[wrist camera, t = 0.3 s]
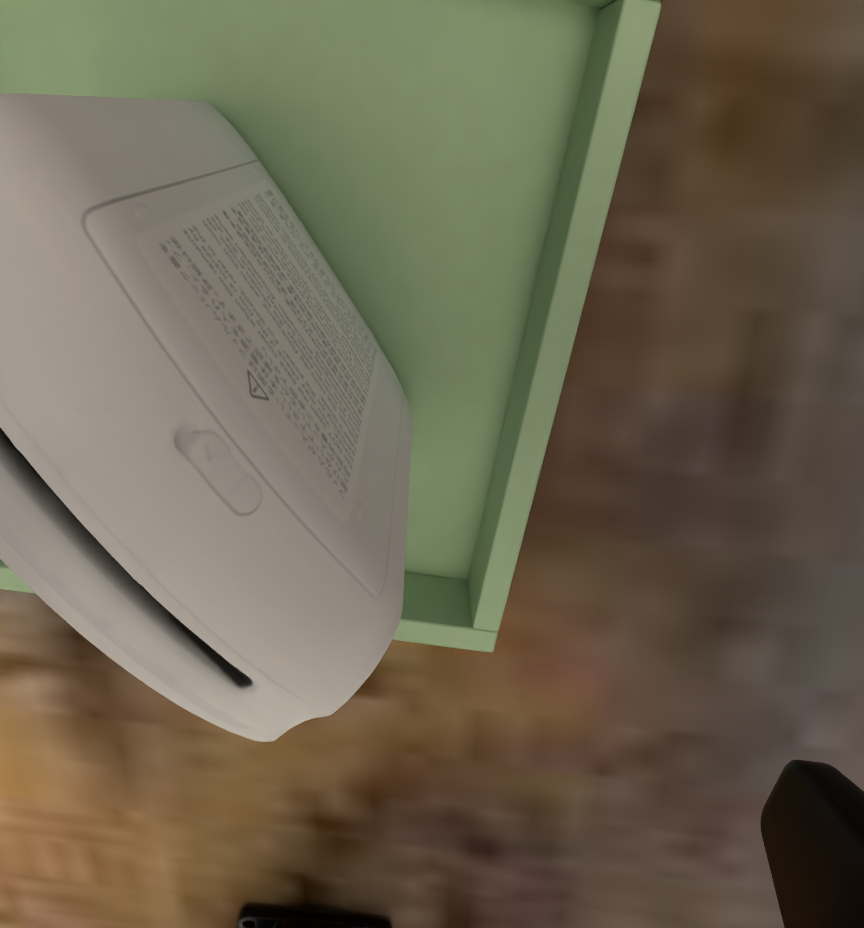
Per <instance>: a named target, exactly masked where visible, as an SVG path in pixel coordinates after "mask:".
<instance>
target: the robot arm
mask: <svg viewBox="0 0 864 928" xmlns="http://www.w3.org/2000/svg"><path fill="white" fill-rule="evenodd" d="M761 832H762V837H763V842H764V846H765V850H766V854H767V858H768V862H769V866H770V870H771V874H772V878H773V882H774V886H775V890H776V895H777V899H778V903H779V907H780V911H781V915H782V919H783V923H784V927H785V928H864V791H862V790H861V789H860V788H859V787H858V786H856V785H855V784H854V783H853V782H851V781H850V780H849V779H848V778H847V777H845V776H844V775H843V774H842V773H841V772H839V771H838V770H837V769H836V768H834V767H833V766H831V765H829V764H825V763H820V762H812V761H804V760H792V761H791V762H789V763H788V764H787V765H786V766H785V767H784V769H783V771H782V773H781V775H780V777H779V779H778V780H777V782H776V784H775V786H774V788H773V790H772V792H771V794H770V796H769V798H768V800H767V802H766V804H765V806H764V808H763V810H762V815H761ZM237 928H392V925H391V924H390V923H389V922H387V921H383V920H374V919H363V918H353V917H343V916H333V915H323V914H312V913H302V912H292V911H282V910H272V909H262V908H245V909H243V910H241V911H240V914H239V918H238V922H237Z"/></svg>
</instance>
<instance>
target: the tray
mask: <svg viewBox="0 0 864 928" xmlns="http://www.w3.org/2000/svg"><path fill="white" fill-rule="evenodd" d="M660 1H662V0H0V94H4V93H31V94H51V95H70V96H96V97H114V98H139V99H166V100H202V101H207V102H209V103H210V104H212V105H213V106H214V107H215V108H216V109H217V110H218V111H219V112H220V113H221V114H222V115H223V116H224V117H225V118H226V120H227V121H228V122H229V123H230V124H231V125H232V126H233V127H234V128H235V129H236V131H237V132H238V133H239V134H240V135H241V137H242V138H243V139H244V140H245V142H246V143H247V144H248V145H249V147H250V148H251V149H252V151H253V152H254V154H255V155H256V156H257V158H258V159H259V161H260V162H261V163H262V165H263V166H264V168H265V169H266V171H267V172H268V173H269V175H270V176H271V178H272V179H273V181H274V182H275V183H276V185H277V186H278V188H279V189H280V191H281V192H282V194H283V195H284V197H285V198H286V200H287V202H288V203H289V205H290V206H291V208H292V209H293V211H294V212H295V214H296V215H297V217H298V218H299V220H300V221H301V222H302V224H303V225H304V227H305V229H306V230H307V232H308V233H309V235H310V237H311V238H312V240H313V241H314V243H315V244H316V246H317V247H318V249H319V250H320V252H321V253H322V255H323V256H324V258H325V259H326V261H327V263H328V264H329V266H330V267H331V269H332V270H333V272H334V274H335V275H336V277H337V278H338V280H339V282H340V283H341V285H342V286H343V288H344V290H345V291H346V293H347V294H348V296H349V298H350V299H351V301H352V302H353V304H354V305H355V307H356V309H357V310H358V312H359V313H360V315H361V317H362V318H363V320H364V321H365V323H366V325H367V326H368V327H369V329H370V330H371V331H372V333H373V336H374V338H375V339H376V341H377V342H378V344H379V346H380V348H381V349H382V351H383V352H384V354H385V356H386V358H387V359H388V361H389V363H390V365H391V366H392V368H393V370H394V372H395V374H396V376H397V378H398V380H399V382H400V384H401V386H402V388H403V391H404V393H405V396H406V398H407V401H408V404H409V407H410V410H411V413H412V418H413V434H412V448H411V459H410V462H411V464H410V481H409V497H408V515H407V534H406V549H405V553H406V556H405V571H404V592H403V607H402V613H401V619H400V622H399V625H398V628H397V630H396V632H395V635H394V637H393V639H392V640H398V641H406V642H414V643H421V644H429V645H437V646H445V647H452V648H460V649H468V650H475V651H483V652H493V650H494V647H495V643H496V639H497V635H498V630H499V628H500V624H501V620H502V616H503V613H504V609H505V605H506V601H507V597H508V593H509V590H510V586H511V582H512V578H513V574H514V570H515V567H516V563H517V559H518V555H519V551H520V547H521V544H522V540H523V536H524V532H525V528H526V524H527V520H528V517H529V513H530V509H531V505H532V501H533V497H534V494H535V490H536V486H537V482H538V478H539V474H540V471H541V467H542V463H543V459H544V455H545V451H546V448H547V444H548V440H549V436H550V432H551V428H552V425H553V421H554V417H555V413H556V409H557V405H558V402H559V398H560V394H561V390H562V386H563V382H564V378H565V375H566V371H567V367H568V363H569V359H570V355H571V352H572V348H573V344H574V340H575V336H576V332H577V329H578V325H579V321H580V317H581V313H582V309H583V306H584V302H585V298H586V294H587V290H588V286H589V283H590V279H591V275H592V271H593V267H594V263H595V260H596V256H597V252H598V248H599V244H600V240H601V236H602V233H603V229H604V225H605V221H606V217H607V213H608V210H609V206H610V202H611V198H612V194H613V190H614V187H615V183H616V179H617V175H618V171H619V167H620V164H621V160H622V156H623V152H624V148H625V144H626V141H627V137H628V133H629V129H630V125H631V121H632V118H633V114H634V110H635V106H636V102H637V98H638V94H639V91H640V87H641V83H642V79H643V75H644V71H645V68H646V64H647V60H648V56H649V52H650V48H651V45H652V41H653V37H654V33H655V29H656V25H657V22H658V18H659V14H660V10H661V3H660ZM0 589H5V590H12V591H20V592H28V593H35V592H34V591H33V590H32V589H31V588H30V587H29V586H28V585H27V584H25V583H24V582H23V581H22V580H21V579H20V578H19V577H18V576H17V575H16V574H15V573H14V572H13V571H12V570H11V569H10V568H9V567H8V566H7V565H6V564H5V563H4V562H3V561H2V560H1V559H0Z"/></svg>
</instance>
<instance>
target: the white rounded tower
mask: <svg viewBox="0 0 864 928" xmlns="http://www.w3.org/2000/svg"><path fill="white" fill-rule="evenodd" d="M412 434H413V418H412V413H411V410H410V407H409V404H408V401H407V398H406V396H405V393H404V391H403V388H402V386H401V384H400V382H399V380H398V378H397V376H396V374H395V372H394V370H393V368H392V366H391V365H390V363H389V361H388V359H387V358H386V356H385V354H384V352H383V351H382V349H381V348H380V346H379V344H378V342H377V341H376V339H375V338H374V336H373V333H372V331H371V330H370V329H369V327H368V326H367V325H366V323H365V321H364V320H363V318H362V317H361V315H360V313H359V312H358V310H357V309H356V307H355V305H354V304H353V302H352V301H351V299H350V298H349V296H348V294H347V293H346V291H345V290H344V288H343V286H342V285H341V283H340V282H339V280H338V278H337V277H336V275H335V274H334V272H333V270H332V269H331V267H330V266H329V264H328V263H327V261H326V259H325V258H324V256H323V255H322V253H321V252H320V250H319V249H318V247H317V246H316V244H315V243H314V241H313V240H312V238H311V237H310V235H309V233H308V232H307V230H306V229H305V227H304V225H303V224H302V222H301V221H300V220H299V218H298V217H297V215H296V214H295V212H294V211H293V209H292V208H291V206H290V205H289V203H288V202H287V200H286V198H285V197H284V195H283V194H282V192H281V191H280V189H279V188H278V186H277V185H276V183H275V182H274V181H273V179H272V178H271V176H270V175H269V173H268V172H267V171H266V169H265V168H264V166H263V165H262V163H261V162H260V161H259V159H258V158H257V156H256V155H255V154H254V152H253V151H252V149H251V148H250V147H249V145H248V144H247V143H246V142H245V140H244V139H243V138H242V137H241V135H240V134H239V133H238V132H237V131H236V129H235V128H234V127H233V126H232V125H231V124H230V123H229V122H228V121H227V120H226V118H225V117H224V116H223V115H222V114H221V113H220V112H219V111H218V110H217V109H216V108H215V107H214V106H213V105H212V104H210V103H209V102H207V101H202V100H166V99H139V98H114V97H96V96H70V95H51V94H31V93H4V94H0V559H1V560H2V561H3V562H4V563H5V564H6V565H7V566H8V567H9V568H10V569H11V570H12V571H13V572H14V573H15V574H16V575H17V576H18V577H19V578H20V579H21V580H22V581H23V582H24V583H25V584H27V585H28V586H29V587H30V588H31V589H32V590H33V591H34V592H35V593H36V594H37V595H38V596H39V597H40V598H41V599H42V600H43V601H44V602H45V603H46V604H47V605H48V606H49V607H51V608H52V609H53V610H54V611H55V612H56V613H57V614H58V615H60V616H61V617H62V618H63V619H64V620H65V621H66V622H67V623H69V624H70V625H71V626H72V627H73V628H74V629H75V630H76V631H78V632H79V633H80V634H81V635H82V636H83V637H85V638H86V639H87V640H88V641H90V642H91V643H92V644H93V645H95V646H96V647H97V648H98V649H99V650H101V651H102V652H103V653H104V654H106V655H107V656H108V657H109V658H111V659H112V660H113V661H115V662H116V663H117V664H119V665H120V666H121V667H123V668H124V669H125V670H127V671H128V672H129V673H131V674H132V675H134V676H135V677H136V678H138V679H139V680H141V681H142V682H143V683H145V684H146V685H148V686H149V687H151V688H152V689H154V690H155V691H157V692H158V693H160V694H162V695H163V696H165V697H166V698H168V699H169V700H171V701H172V702H174V703H176V704H177V705H179V706H181V707H182V708H184V709H186V710H188V711H189V712H191V713H193V714H195V715H197V716H199V717H201V718H203V719H204V720H206V721H208V722H210V723H212V724H214V725H217V726H219V727H221V728H223V729H225V730H227V731H230V732H232V733H235V734H238V735H240V736H243V737H245V738H248V739H251V740H255V741H261V742H270V741H275V740H276V739H277V738H279V737H280V736H281V735H282V734H284V733H285V732H286V731H288V730H289V729H290V728H292V727H294V726H296V725H298V724H300V723H302V722H304V721H306V720H310V719H313V718H318V717H327V716H330V715H331V714H333V713H335V712H336V711H337V710H338V709H339V708H340V707H341V706H342V705H344V704H345V703H346V702H347V701H348V700H349V699H350V698H351V697H352V696H353V695H354V693H355V692H356V691H357V690H358V689H359V688H360V686H361V685H362V684H363V683H364V682H365V681H366V680H367V678H368V677H369V676H370V675H371V674H372V672H373V671H374V669H375V668H376V666H377V665H378V663H379V662H380V660H381V658H382V657H383V655H384V654H385V652H386V650H387V649H388V647H389V645H390V643H391V641H392V639H393V637H394V635H395V632H396V630H397V628H398V625H399V622H400V619H401V613H402V607H403V592H404V571H405V556H406V553H405V549H406V534H407V515H408V497H409V481H410V464H411V462H410V459H411V448H412Z"/></svg>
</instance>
